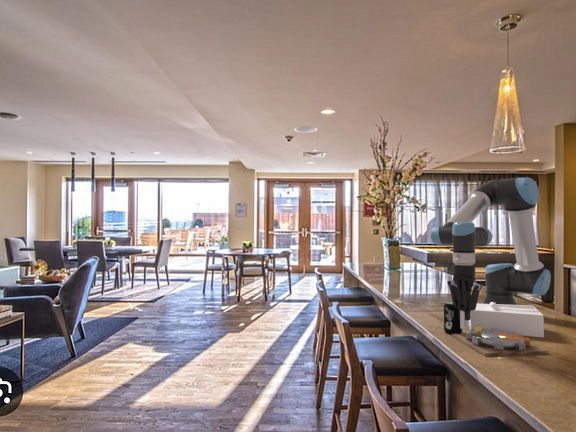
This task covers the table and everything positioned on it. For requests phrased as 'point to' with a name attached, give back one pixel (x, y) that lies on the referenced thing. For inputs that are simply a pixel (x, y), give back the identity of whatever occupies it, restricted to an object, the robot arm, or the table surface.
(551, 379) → the table surface
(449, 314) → the beverage can
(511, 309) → the tissue box
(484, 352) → the board
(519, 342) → the sprocket
